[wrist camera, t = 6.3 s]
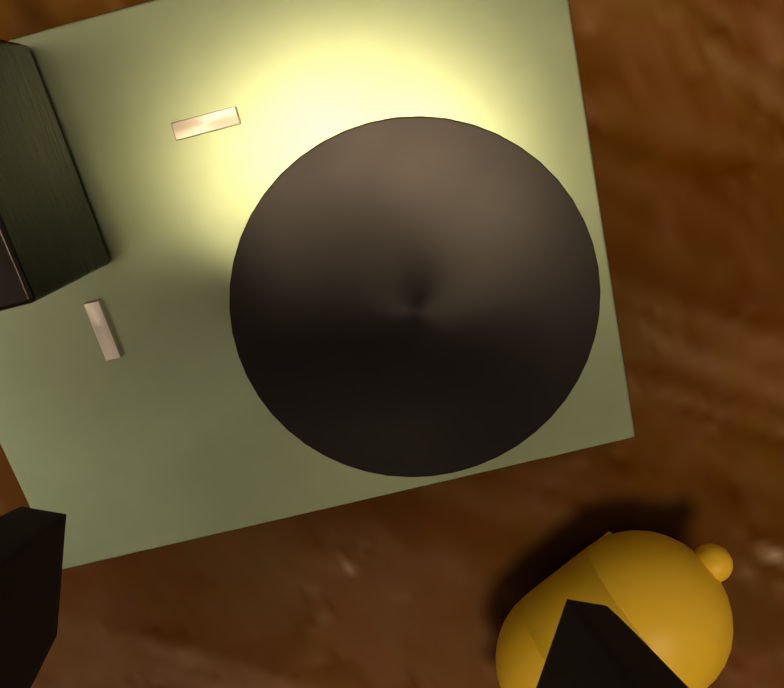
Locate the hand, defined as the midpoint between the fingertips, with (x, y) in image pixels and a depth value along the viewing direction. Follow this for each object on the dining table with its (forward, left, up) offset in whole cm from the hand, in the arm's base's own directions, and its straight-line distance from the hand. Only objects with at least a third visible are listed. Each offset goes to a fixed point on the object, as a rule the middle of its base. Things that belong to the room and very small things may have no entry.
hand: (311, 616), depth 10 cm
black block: (-5, +7, -7) cm, 11 cm away
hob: (-1, +5, -9) cm, 11 cm away
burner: (+2, +2, -7) cm, 8 cm away
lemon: (+5, -8, -9) cm, 14 cm away
